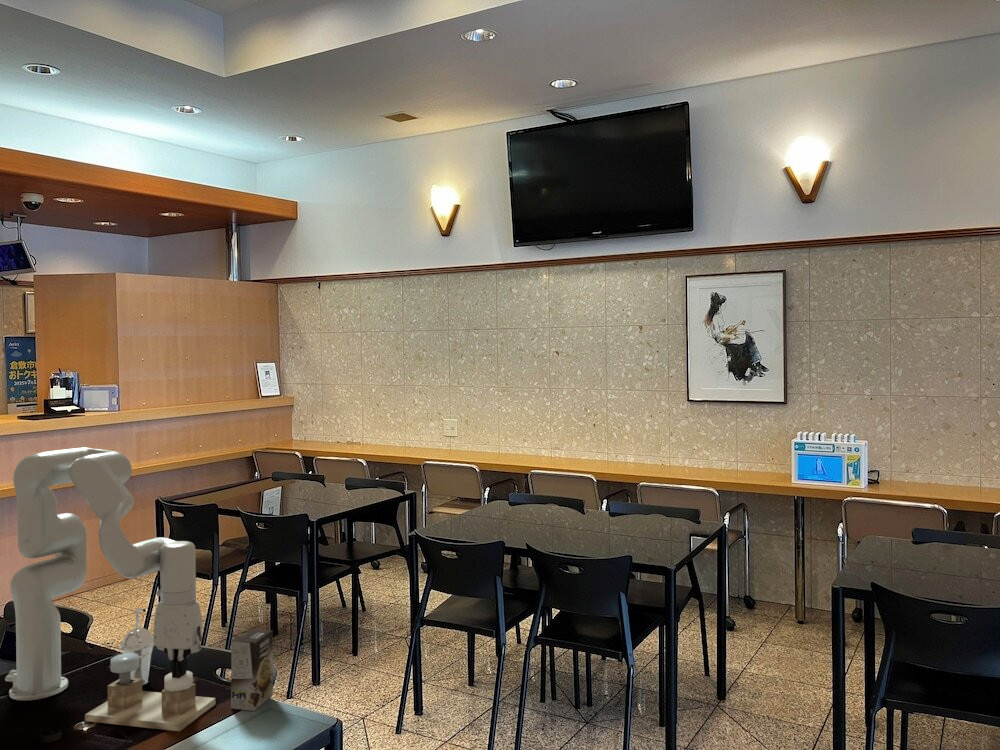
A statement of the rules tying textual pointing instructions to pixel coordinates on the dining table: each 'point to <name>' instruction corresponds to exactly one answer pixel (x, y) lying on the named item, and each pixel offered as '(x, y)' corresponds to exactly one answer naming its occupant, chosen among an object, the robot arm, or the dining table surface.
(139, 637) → the cup with straw
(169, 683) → the knob
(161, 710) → the wooden mounting board
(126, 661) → the knob
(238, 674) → the coffee box
